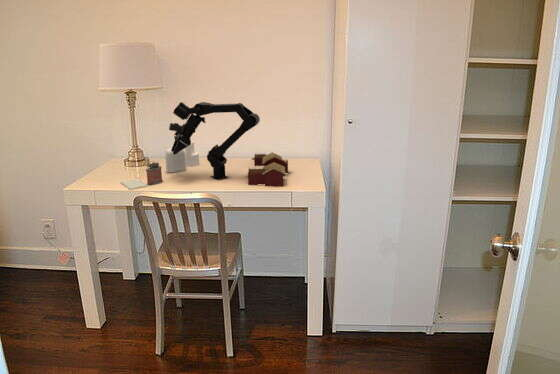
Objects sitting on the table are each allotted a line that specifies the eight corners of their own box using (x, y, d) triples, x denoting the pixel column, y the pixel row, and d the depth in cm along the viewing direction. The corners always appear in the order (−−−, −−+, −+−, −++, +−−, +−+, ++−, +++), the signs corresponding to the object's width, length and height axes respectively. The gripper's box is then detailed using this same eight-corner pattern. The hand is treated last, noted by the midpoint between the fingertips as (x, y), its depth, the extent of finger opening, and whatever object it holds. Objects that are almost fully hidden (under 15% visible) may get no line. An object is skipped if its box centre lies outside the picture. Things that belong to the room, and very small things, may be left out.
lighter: (159, 180, 227) (158, 160, 224) (164, 181, 225) (162, 161, 222) (145, 184, 221) (143, 163, 218) (150, 185, 219) (148, 165, 216)
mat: (148, 186, 218) (148, 185, 218) (130, 189, 213) (129, 188, 213) (137, 179, 229) (137, 178, 229) (120, 182, 224) (119, 181, 224)
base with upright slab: (184, 162, 261) (183, 141, 257) (200, 162, 260) (199, 141, 257) (180, 166, 252) (179, 144, 249) (197, 166, 252) (195, 144, 248)
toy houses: (289, 187, 217) (289, 165, 214) (244, 187, 217) (243, 166, 214) (286, 162, 260) (286, 144, 257) (249, 163, 260) (249, 145, 257)
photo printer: (184, 168, 248) (182, 145, 244) (187, 170, 244) (185, 147, 241) (165, 171, 242) (163, 148, 239) (168, 173, 239) (166, 149, 235)
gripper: (174, 114, 231) (156, 140, 231) (178, 117, 214) (159, 146, 214) (193, 127, 235) (176, 153, 235) (199, 131, 218) (180, 159, 218)
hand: (172, 152), depth 226 cm, fingers open, 9 cm apart
